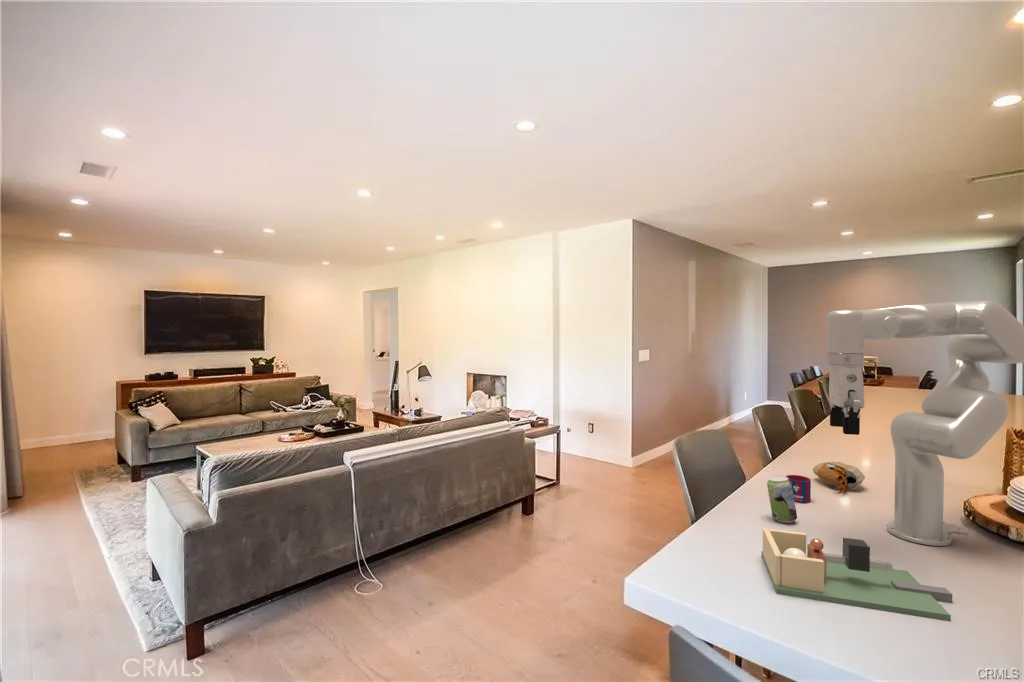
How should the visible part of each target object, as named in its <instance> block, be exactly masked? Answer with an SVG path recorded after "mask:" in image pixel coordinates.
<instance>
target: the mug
mask: <svg viewBox="0 0 1024 682" xmlns="http://www.w3.org/2000/svg"><path fill="white" fill-rule="evenodd" d="M785 477H787V478H788V480H789V481H790V482H791V484H792V489H793V495H794V501H795V503H798V504H809V503H810V502H811V501H812V500H811V497H812V496H811V494H812V493H811V492H812V491H811V488H812V487H811V486H812V485H811V484H812V479H811V478H810V477H807V476H804V475H797V474H788V475H787V474H786V475H785Z"/></svg>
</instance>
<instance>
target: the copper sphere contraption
mask: <svg viewBox="0 0 1024 682" xmlns="http://www.w3.org/2000/svg"><path fill="white" fill-rule="evenodd" d="M823 550H824V543H823V542H822V540H821V539H819V538H813V539H811V540H810V543H806V555H807V557H808V558H814V559H822V560H823V561H824V580H825V581H826V567H827V563H834V564H842V565H846V566H847V568H848V569H851V570H858V571H866V572H870V568H871V569H879V570H886V571H892V569H893V563H892V562H891V561H888V560H884V559H875V558H871V551H870V550H871V546H869V545H868V543H867V542H866V541H865V540H864V539H858V538H850V537H848V538H847V537H842V554H837V553H830V552H829V553H828V552H827V553H826V552H824V551H823Z"/></svg>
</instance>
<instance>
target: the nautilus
mask: <svg viewBox="0 0 1024 682" xmlns="http://www.w3.org/2000/svg"><path fill="white" fill-rule="evenodd" d="M812 471H813V473H814V475H815V476H817V477H818V478H819V479H820V480H822V481H823V483H825V484H827V485H834V486H836V487H835V488H833V489H834V490H835V489H838V490H837V491H836V494H840V493H842V494H843V495H844V492H845V494H847V493H846V491H848V490H852V491H854V490H856V488H857V487H858V486H860V485H861V484H862V483H863V482H864V480H865V479H866V476H865V475H864V474H863V472H862V471H861V470H860V469H859V468H858V467H857V466H855V465H850V464H846V463H844V462H841V461H829V462H822V463H818V464H816V465H815V466H814V467H813V469H812ZM840 490H842V491H840Z"/></svg>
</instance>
